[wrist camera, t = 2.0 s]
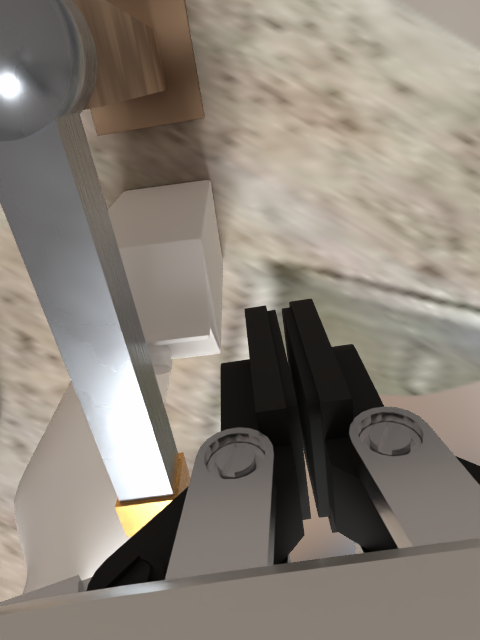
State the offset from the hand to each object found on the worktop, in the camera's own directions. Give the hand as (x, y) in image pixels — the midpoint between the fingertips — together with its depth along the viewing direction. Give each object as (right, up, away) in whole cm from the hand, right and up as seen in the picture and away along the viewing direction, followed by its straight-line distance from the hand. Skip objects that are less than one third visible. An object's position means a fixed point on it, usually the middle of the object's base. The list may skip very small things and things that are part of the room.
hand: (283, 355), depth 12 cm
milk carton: (-7, +9, +27) cm, 29 cm away
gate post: (-8, +19, +21) cm, 30 cm away
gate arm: (-7, +2, +7) cm, 10 cm away
